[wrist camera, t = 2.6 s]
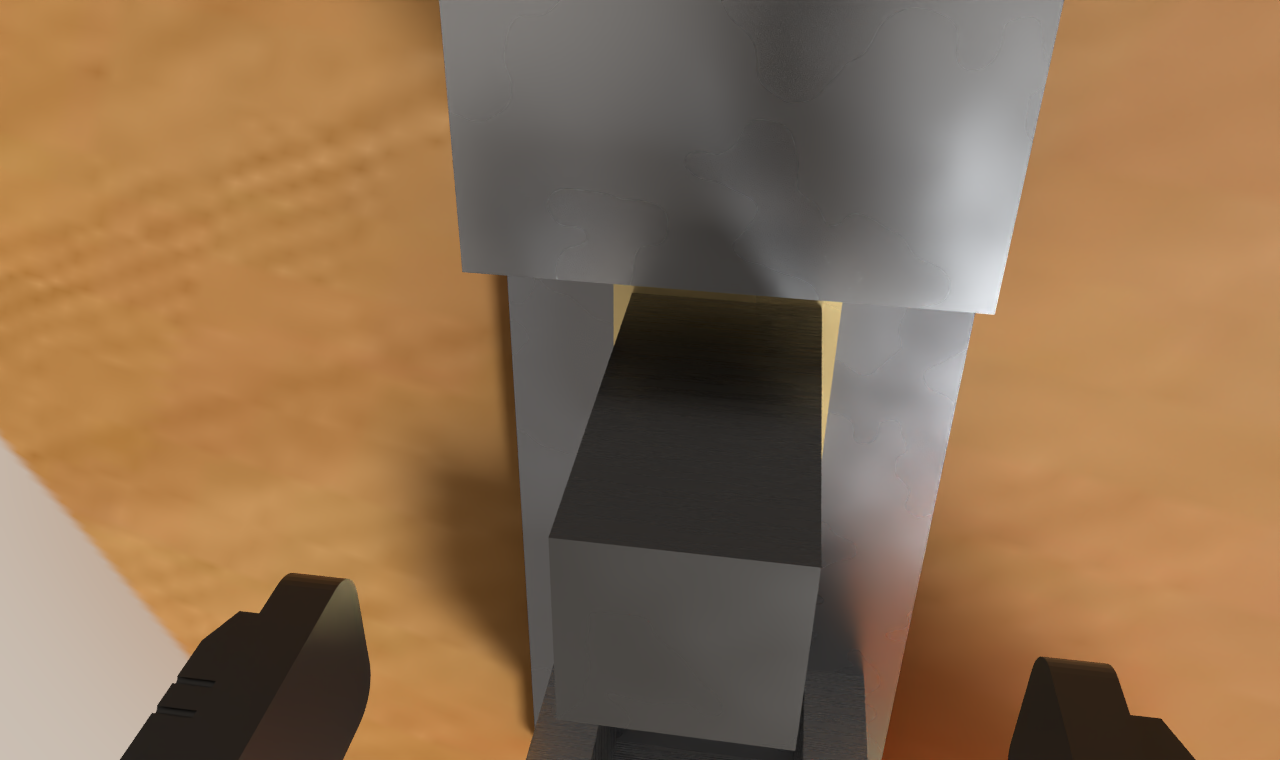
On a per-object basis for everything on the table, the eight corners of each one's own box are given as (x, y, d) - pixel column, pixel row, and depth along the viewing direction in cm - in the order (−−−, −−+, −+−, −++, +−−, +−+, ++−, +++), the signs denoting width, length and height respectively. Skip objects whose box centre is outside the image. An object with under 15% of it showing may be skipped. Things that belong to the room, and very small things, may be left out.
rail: (490, -303, 16) (322, -319, 11) (1086, -295, 15) (1234, -309, 10) (545, 748, 30) (483, 978, 24) (866, 791, 28) (877, 1043, 23)
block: (651, -436, 14) (450, -627, 7) (921, -436, 14) (1044, -645, 6) (636, 495, 23) (543, 879, 15) (804, 513, 22) (793, 917, 15)
